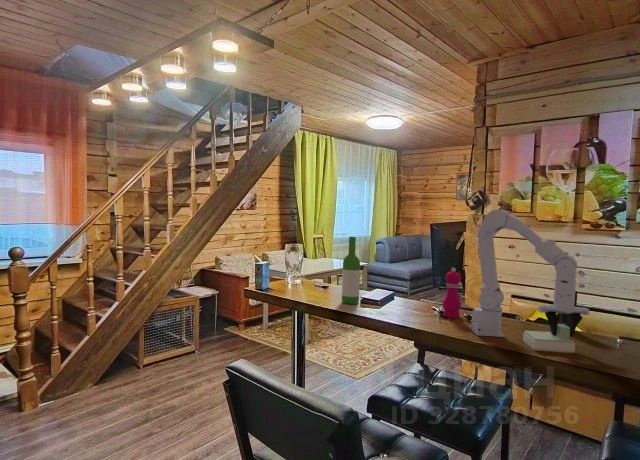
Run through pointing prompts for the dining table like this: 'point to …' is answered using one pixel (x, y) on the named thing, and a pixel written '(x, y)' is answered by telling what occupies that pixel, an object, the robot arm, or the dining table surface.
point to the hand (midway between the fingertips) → (561, 335)
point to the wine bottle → (351, 275)
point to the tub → (549, 345)
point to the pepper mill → (452, 295)
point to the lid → (561, 336)
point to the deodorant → (564, 315)
